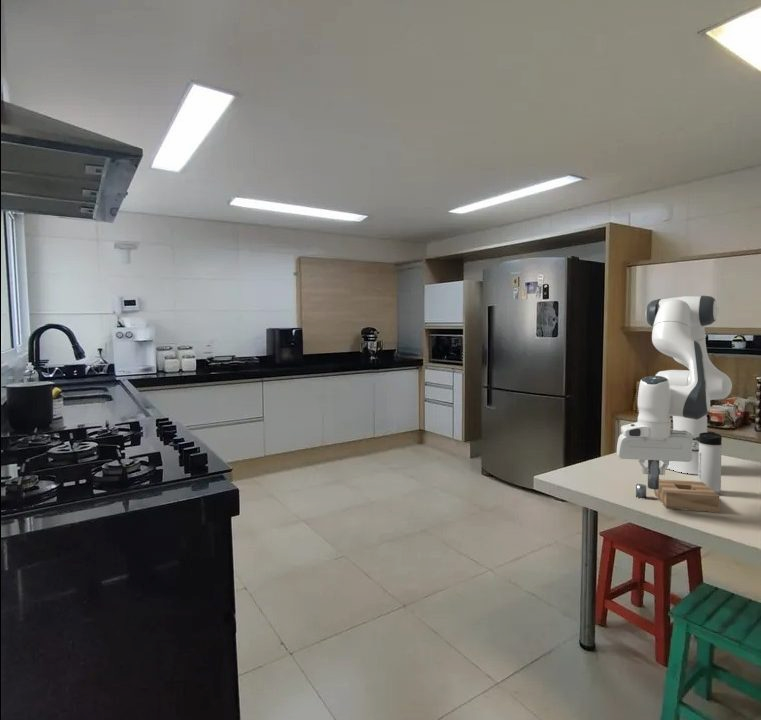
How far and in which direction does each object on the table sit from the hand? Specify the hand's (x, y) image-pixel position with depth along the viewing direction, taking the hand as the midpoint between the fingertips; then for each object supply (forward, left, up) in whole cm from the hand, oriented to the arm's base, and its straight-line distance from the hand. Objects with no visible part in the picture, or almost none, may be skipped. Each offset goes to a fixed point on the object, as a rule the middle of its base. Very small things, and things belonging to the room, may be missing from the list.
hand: (653, 473), depth 145 cm
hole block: (-8, +11, -11) cm, 17 cm away
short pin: (-10, -1, -11) cm, 15 cm away
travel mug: (-21, +22, -11) cm, 32 cm away
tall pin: (0, 0, -4) cm, 4 cm away
